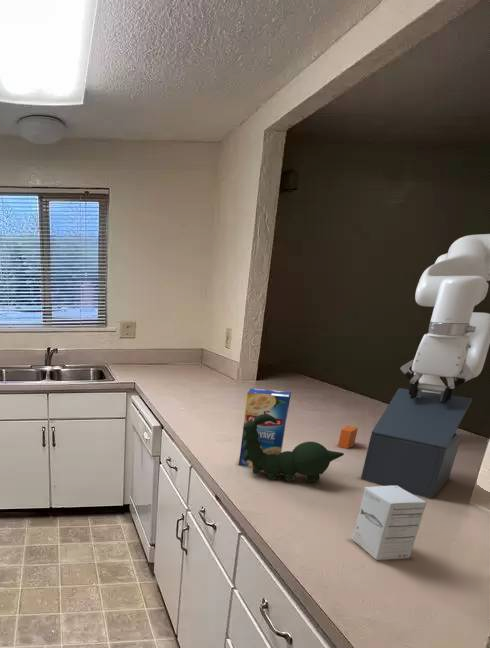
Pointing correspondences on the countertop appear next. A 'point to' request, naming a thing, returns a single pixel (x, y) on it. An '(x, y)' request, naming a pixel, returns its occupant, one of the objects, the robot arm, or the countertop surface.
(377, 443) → the trash can
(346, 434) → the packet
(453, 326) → the robot arm
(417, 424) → the box lid
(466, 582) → the countertop surface
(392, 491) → the white packaging box
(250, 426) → the toy figurine
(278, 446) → the blue food box
